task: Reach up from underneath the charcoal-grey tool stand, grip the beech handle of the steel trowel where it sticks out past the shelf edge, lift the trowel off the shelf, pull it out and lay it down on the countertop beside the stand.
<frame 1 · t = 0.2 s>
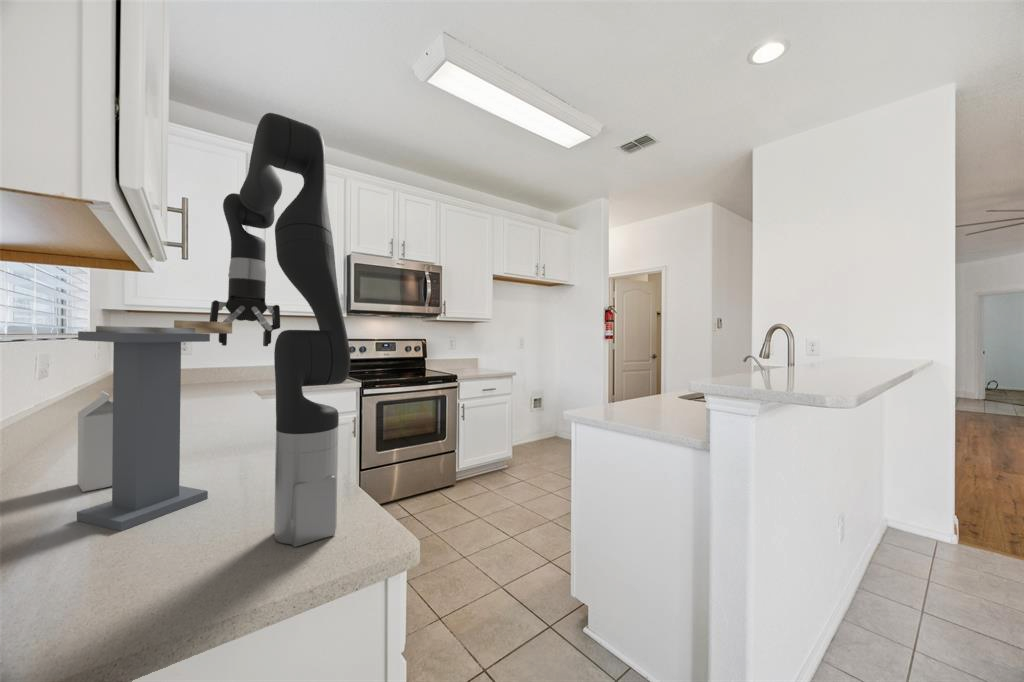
hand: (245, 345, 100), 29 cm above the worktop, tool pointing down, fingers open, 8 cm apart
trowel: (189, 333, 81), point 32 cm above the worktop, touching tool stand
tool stand: (146, 508, 75), on the worktop
milk carton: (104, 484, 86), on the worktop
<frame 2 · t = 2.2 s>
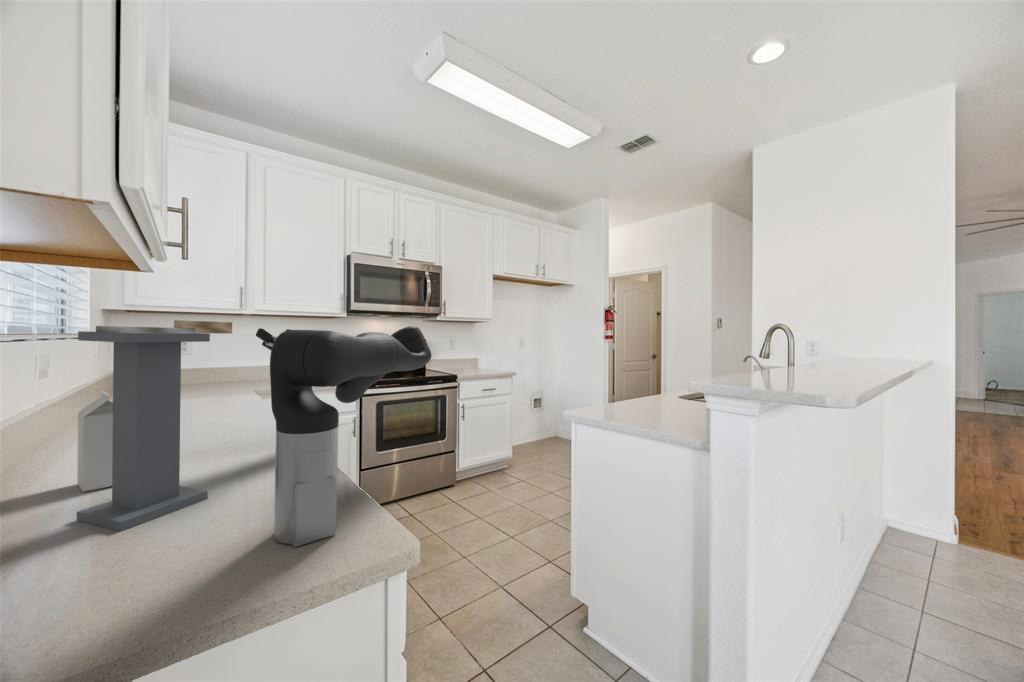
hand: (272, 332, 99), 32 cm above the worktop, tool pointing upward, fingers open, 8 cm apart
nothing on the worktop moved.
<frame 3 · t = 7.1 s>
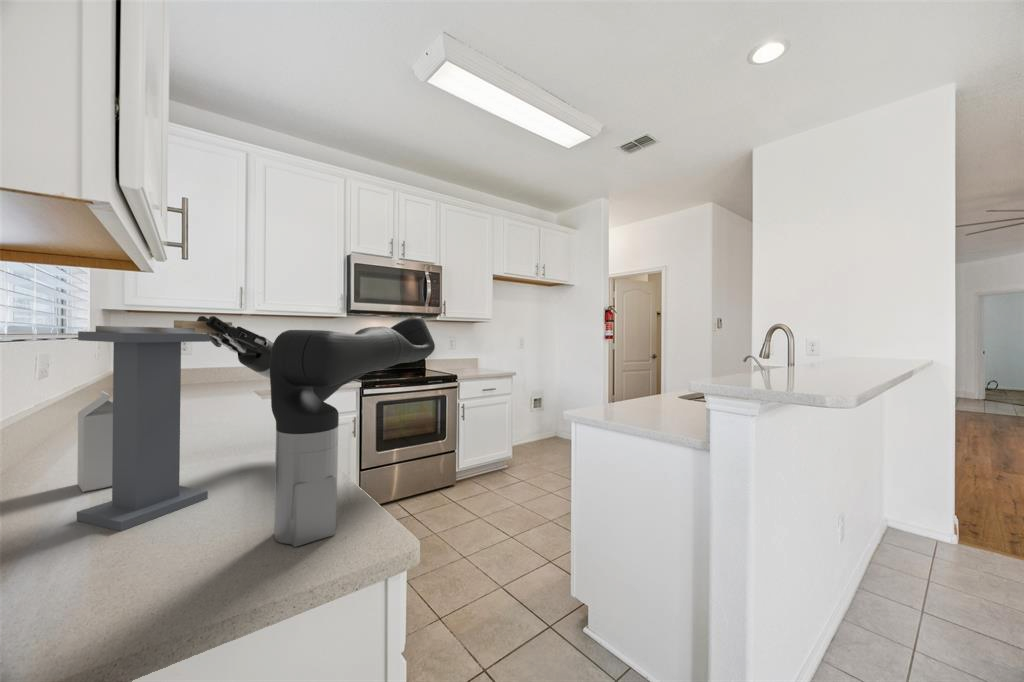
hand: (204, 320, 84), 35 cm above the worktop, tool pointing upward, fingers closed on trowel, 2 cm apart
trowel: (188, 333, 81), point 32 cm above the worktop, touching gripper, tool stand
everything else where it was.
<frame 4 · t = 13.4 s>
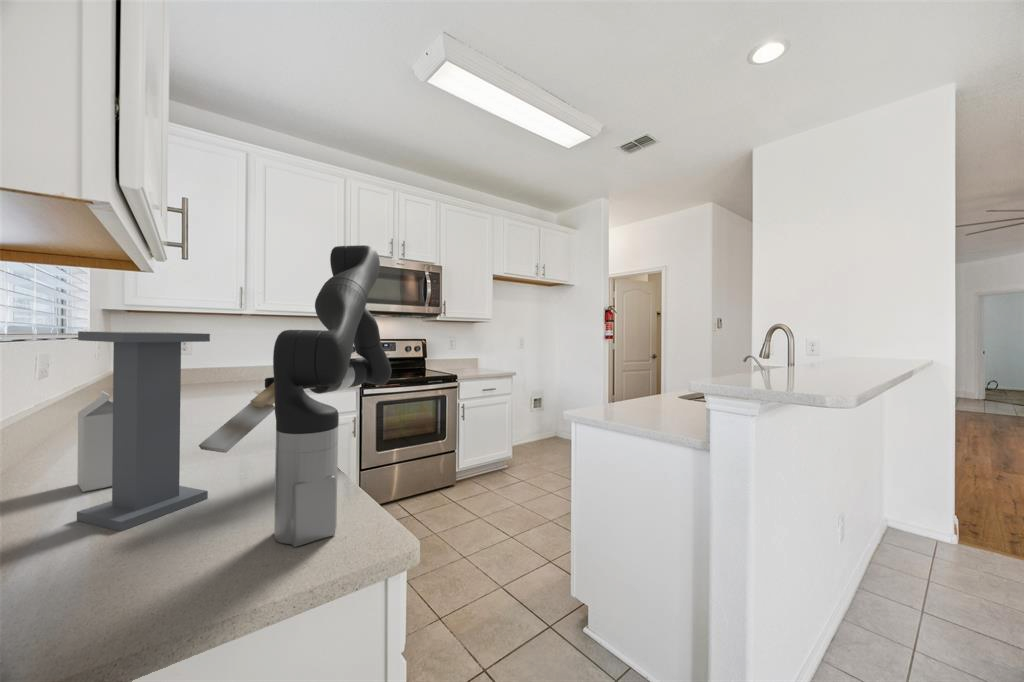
hand: (272, 383, 85), 22 cm above the worktop, tool horizontal, fingers closed on trowel, 2 cm apart
trowel: (267, 404, 84), point 18 cm above the worktop, tilted 31°, touching gripper
everything else where it was.
when the fingers open (12 cm above the worktop, at t = 15.5 s): trowel drops 8 cm, on the worktop.
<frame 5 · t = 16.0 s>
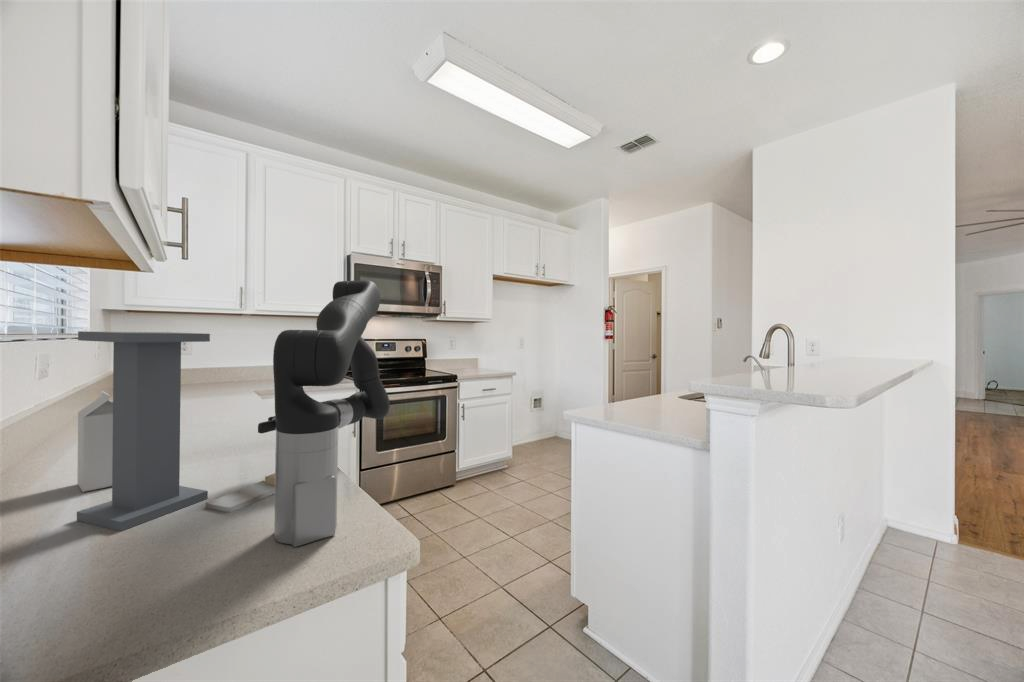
hand: (273, 430, 86), 12 cm above the worktop, tool horizontal, fingers open, 7 cm apart
trowel: (277, 485, 87), on the worktop
everything else where it was.
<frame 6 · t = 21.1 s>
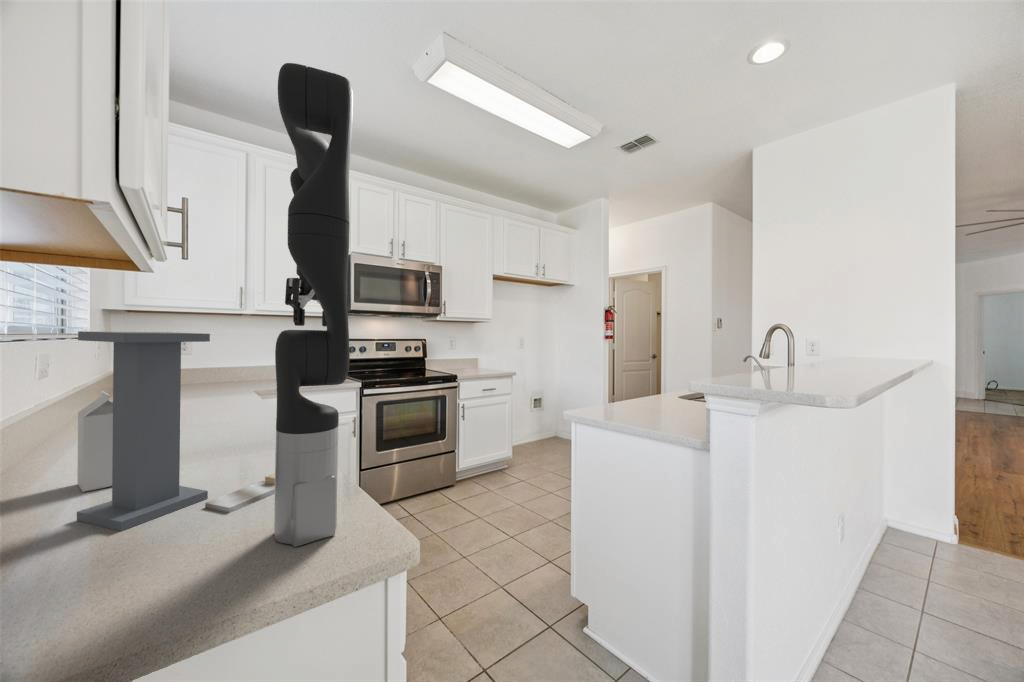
hand: (313, 326, 96), 34 cm above the worktop, tool pointing down, fingers open, 8 cm apart
nothing on the worktop moved.
at the end: trowel inside the target area (1.7 cm from its centre), on the worktop; the gripper is holding nothing; trowel touching worktop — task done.
